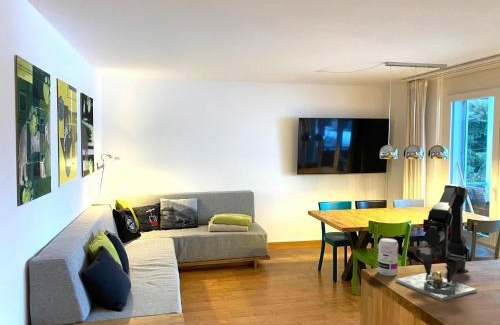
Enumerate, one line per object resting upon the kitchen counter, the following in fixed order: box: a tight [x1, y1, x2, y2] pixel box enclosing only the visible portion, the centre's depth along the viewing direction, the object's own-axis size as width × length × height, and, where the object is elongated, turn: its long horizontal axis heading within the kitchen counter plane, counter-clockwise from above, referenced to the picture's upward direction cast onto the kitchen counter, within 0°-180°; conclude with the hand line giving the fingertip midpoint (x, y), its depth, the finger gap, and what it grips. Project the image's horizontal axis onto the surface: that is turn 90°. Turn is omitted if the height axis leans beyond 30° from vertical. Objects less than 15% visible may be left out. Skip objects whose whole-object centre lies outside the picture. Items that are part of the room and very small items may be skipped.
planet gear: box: [429, 270, 447, 288], centre depth 157 cm, size 6×6×6 cm
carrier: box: [395, 271, 478, 302], centre depth 161 cm, size 20×22×4 cm
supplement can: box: [377, 237, 399, 277], centre depth 177 cm, size 8×8×15 cm
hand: (438, 278), depth 157 cm, fingers open, 9 cm apart
